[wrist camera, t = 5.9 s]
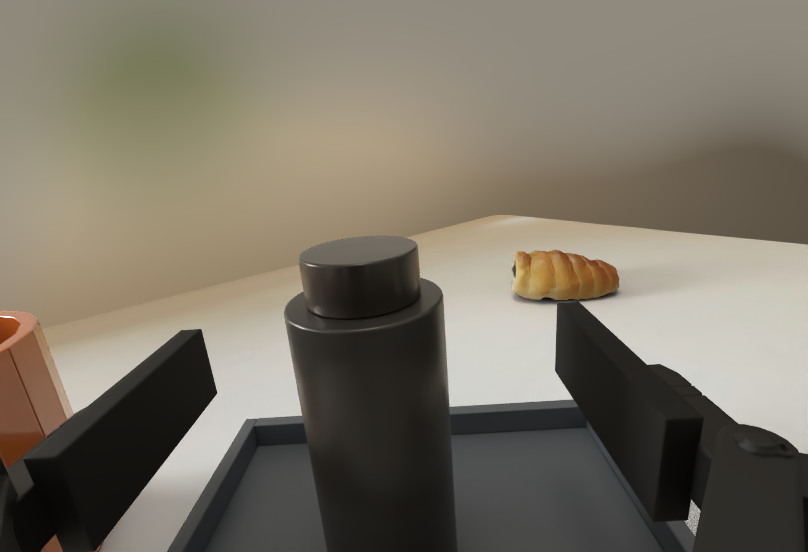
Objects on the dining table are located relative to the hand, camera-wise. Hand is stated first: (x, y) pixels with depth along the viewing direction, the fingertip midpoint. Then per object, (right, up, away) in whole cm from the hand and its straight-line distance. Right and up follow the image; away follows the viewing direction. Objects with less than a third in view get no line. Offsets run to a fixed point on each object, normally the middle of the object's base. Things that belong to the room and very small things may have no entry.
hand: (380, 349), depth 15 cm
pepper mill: (+1, -7, -1) cm, 7 cm away
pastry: (+15, +1, +24) cm, 28 cm away
